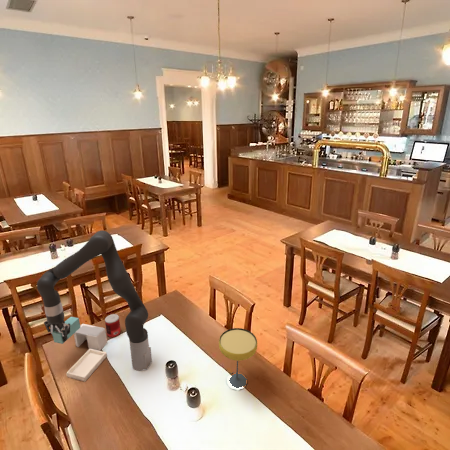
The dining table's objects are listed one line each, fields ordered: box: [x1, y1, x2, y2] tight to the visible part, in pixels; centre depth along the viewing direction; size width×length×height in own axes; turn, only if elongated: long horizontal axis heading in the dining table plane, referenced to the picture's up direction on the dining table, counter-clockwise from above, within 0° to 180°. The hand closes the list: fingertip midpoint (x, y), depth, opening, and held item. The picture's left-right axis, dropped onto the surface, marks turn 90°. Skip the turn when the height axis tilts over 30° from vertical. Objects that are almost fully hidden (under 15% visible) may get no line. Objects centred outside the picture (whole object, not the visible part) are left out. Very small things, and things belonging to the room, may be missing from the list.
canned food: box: [104, 313, 122, 338], centre depth 185 cm, size 8×8×11 cm
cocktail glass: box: [218, 327, 258, 388], centre depth 150 cm, size 18×18×25 cm
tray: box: [66, 348, 108, 382], centre depth 162 cm, size 11×18×3 cm, turn 165°
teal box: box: [51, 316, 81, 345], centre depth 160 cm, size 5×13×7 cm, turn 165°
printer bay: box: [73, 323, 108, 351], centre depth 176 cm, size 15×8×10 cm, turn 75°
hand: (60, 339), depth 156 cm, fingers closed on teal box, 5 cm apart
